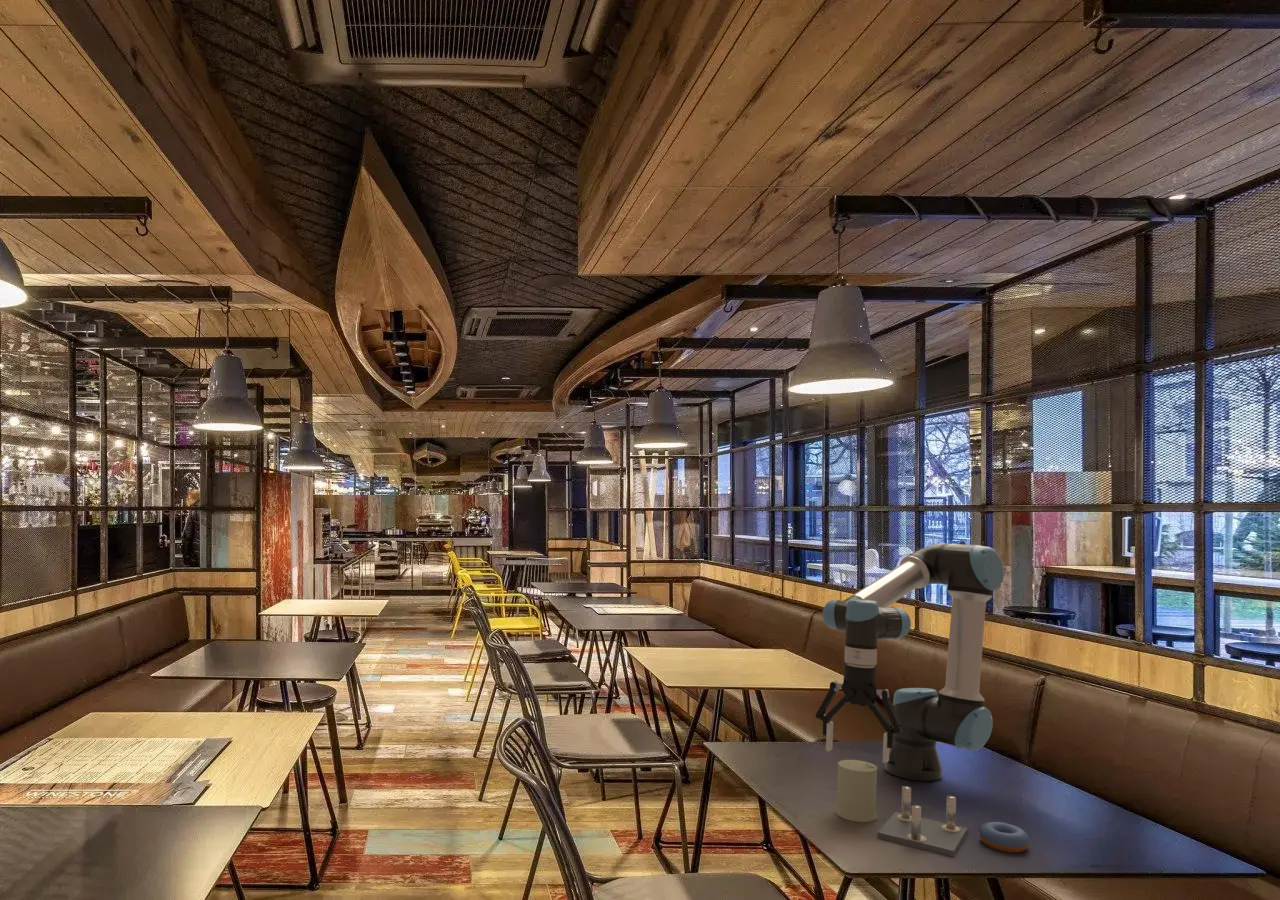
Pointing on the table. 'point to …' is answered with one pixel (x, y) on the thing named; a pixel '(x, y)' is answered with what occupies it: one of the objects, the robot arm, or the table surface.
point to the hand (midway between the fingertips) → (856, 755)
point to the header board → (924, 835)
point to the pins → (916, 813)
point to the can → (856, 790)
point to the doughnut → (1004, 837)
